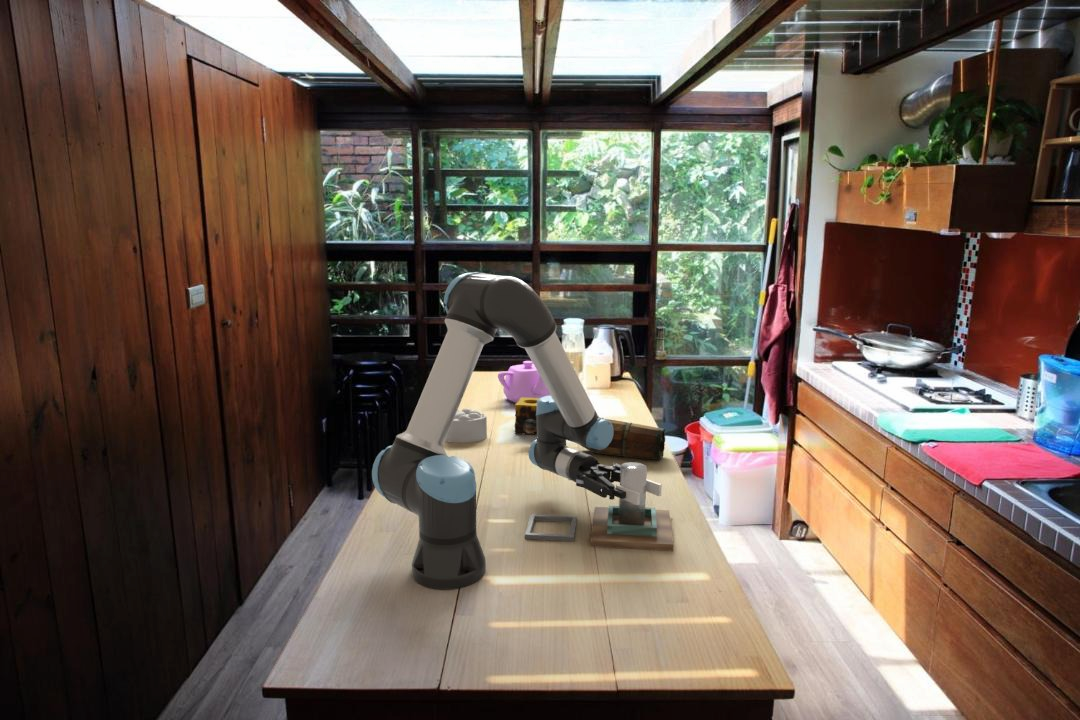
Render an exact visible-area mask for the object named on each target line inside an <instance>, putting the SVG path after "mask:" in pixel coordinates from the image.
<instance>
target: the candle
mask: <svg viewBox="0 0 1080 720" xmlns="http://www.w3.org/2000/svg"><path fill="white" fill-rule="evenodd" d="M538 399H539V398H526V397H521V398H520V400H519V401H518V402H517V403H515V404H514V408H515V414H514V417H515V420H514V434H516V435H517V434H518V435H529V436H530V435H531V436H532V435H533V436H534V435H536V436H537V431H536V432H533V433H525V432H524V430H523V428H522V425H521V424H523V422H525V421H526V420H528V419H533V420H535V421H536V409H537V401H538Z"/></svg>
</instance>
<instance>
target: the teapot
mask: <svg viewBox="0 0 1080 720" xmlns="http://www.w3.org/2000/svg"><path fill="white" fill-rule="evenodd" d="M497 378H498V381H499V383H500V384H501V385H502V387H503V393H504V396H505V397H506V398H507V400H509V401H510V402H513V403H515V404H516V403H517V402H518V401H519V400H520V398H521V397H526V398H541V397H544V396H550V393H549V391H548V389H547V387H546V386H545V384H544V382H543V380H542V378H541V377H540V375H539V373H538V371H537V369H536V368H535V366H534V364H533V362H532V360H525V361H522V364H516V365H512V366H511V365H510V367H509V368H508V370H507V371H500V372H498V374H497Z"/></svg>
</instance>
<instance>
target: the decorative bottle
mask: <svg viewBox="0 0 1080 720" xmlns="http://www.w3.org/2000/svg"><path fill="white" fill-rule="evenodd" d="M605 419H606V420H608V421H610V422H611V424H612V425H613V430H614V434H613V438H612V441H611V443H609V445H608V446H607V447H606V448H604V449H602V450H598V449H594V448H588V447H586V446H583V445H580V444H577V443H575V444H577V445H579V446H581V447H582V448H584V449H586V450H588V451H590V452H592V453H595V454H600V455H604V456H605V455H608V456H618V457H625V458H627V457H628V458H635V459H642V460H643V459H646V460H656V461H657V460H658V461H661V460H662V459H663V458H664V454H665V453H664V452H665V446H666V444H665V442H666V428H662V427H661V428H660V427H655V426H650V425H647V424H646V425H645V424H641V423H634V422H626V421H622V420H616V419H608V418H605ZM521 425H522V428H523V430H524V432H525V433H533V432H536V431H537V422H536V421H535V420H533V419H528V420H526V421H525V422H523V424H521Z"/></svg>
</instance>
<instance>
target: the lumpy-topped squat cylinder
mask: <svg viewBox="0 0 1080 720" xmlns="http://www.w3.org/2000/svg"><path fill="white" fill-rule="evenodd" d="M487 423H488V421H487V415H486V414H484V413H481V412H480V411H478V410H472V409H470V408H468V407H466V408H463V409H462V410H457V412H456V415H455V417H454V420H453V422H452V424H451V427H450V429H449V432H448V434H447V437H446V439H445V442H449V443H462V444H465V443H469V444H470V443H476V442H477V443H478V442H482V441H484V440H486V439H487V437H488V426H487Z"/></svg>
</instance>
